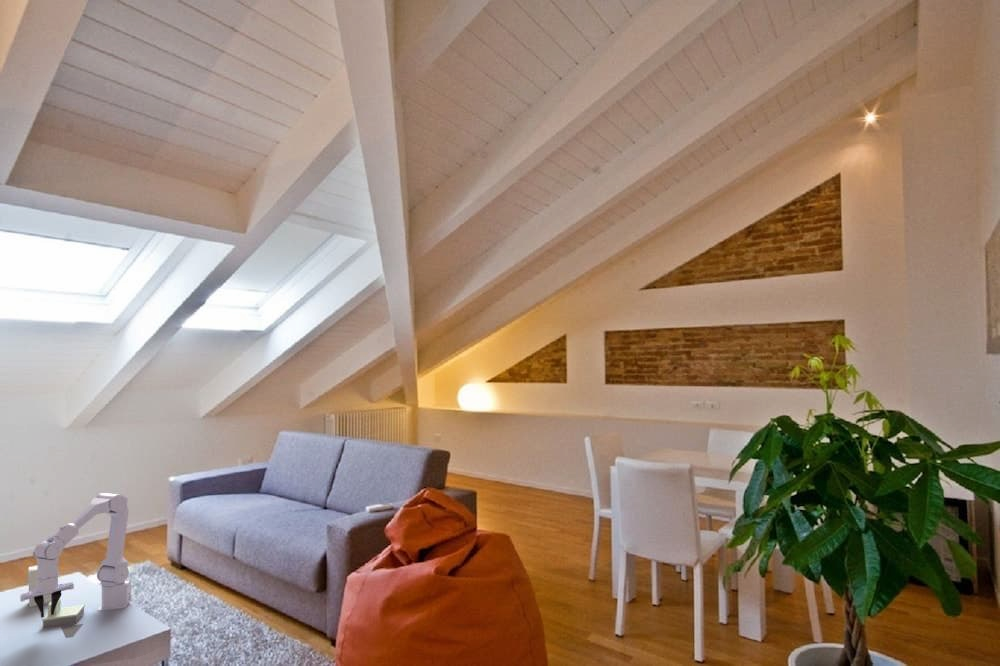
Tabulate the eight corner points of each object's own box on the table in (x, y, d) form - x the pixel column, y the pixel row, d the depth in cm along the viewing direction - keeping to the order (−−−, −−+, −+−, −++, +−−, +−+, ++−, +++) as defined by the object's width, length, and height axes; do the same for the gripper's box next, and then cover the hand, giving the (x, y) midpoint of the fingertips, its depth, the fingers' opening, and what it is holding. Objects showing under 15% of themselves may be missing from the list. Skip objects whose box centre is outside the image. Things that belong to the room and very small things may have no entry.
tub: (84, 614, 213) (84, 606, 213) (76, 624, 206) (76, 615, 206) (51, 618, 210) (52, 610, 210) (42, 629, 202) (43, 620, 202)
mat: (83, 624, 205) (83, 623, 205) (72, 638, 196) (72, 636, 196) (42, 630, 201) (42, 629, 201) (30, 644, 191) (30, 643, 191)
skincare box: (55, 597, 227) (55, 560, 228) (55, 603, 223) (55, 565, 223) (28, 604, 222) (28, 566, 222) (27, 609, 217) (28, 570, 218)
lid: (84, 607, 213) (84, 593, 213) (76, 617, 205) (76, 603, 206) (51, 612, 210) (51, 598, 210) (42, 622, 202) (42, 607, 202)
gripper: (72, 567, 206) (71, 604, 205) (19, 578, 196) (19, 618, 195) (74, 572, 200) (74, 611, 200) (21, 584, 190) (20, 625, 190)
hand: (47, 615), depth 197 cm, fingers closed
